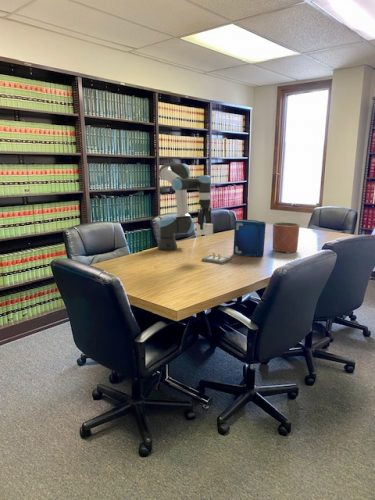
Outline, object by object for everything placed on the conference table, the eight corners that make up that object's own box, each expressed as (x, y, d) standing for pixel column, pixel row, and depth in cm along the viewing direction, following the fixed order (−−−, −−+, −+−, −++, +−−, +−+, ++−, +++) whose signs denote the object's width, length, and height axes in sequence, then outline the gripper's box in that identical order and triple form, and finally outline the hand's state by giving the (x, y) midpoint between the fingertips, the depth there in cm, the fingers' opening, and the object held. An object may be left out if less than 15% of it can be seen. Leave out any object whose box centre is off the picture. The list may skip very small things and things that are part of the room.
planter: (266, 250, 274) (267, 224, 270) (279, 246, 288) (280, 221, 283) (290, 254, 262) (291, 227, 257) (302, 250, 275) (304, 223, 271)
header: (201, 260, 247) (201, 253, 246) (211, 257, 257) (211, 250, 256) (222, 264, 238) (222, 256, 237) (231, 260, 248) (231, 253, 247)
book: (265, 255, 261) (266, 220, 255) (263, 257, 254) (265, 221, 249) (234, 253, 268) (235, 219, 262) (232, 255, 261) (233, 220, 256)
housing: (196, 234, 249) (196, 223, 247) (201, 232, 253) (201, 222, 252) (208, 235, 243) (208, 224, 242) (213, 234, 248) (213, 223, 246)
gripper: (201, 200, 234) (201, 236, 239) (216, 198, 249) (216, 232, 254) (191, 199, 238) (192, 235, 243) (207, 198, 253) (207, 231, 258)
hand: (204, 233), depth 248 cm, fingers closed on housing, 6 cm apart
